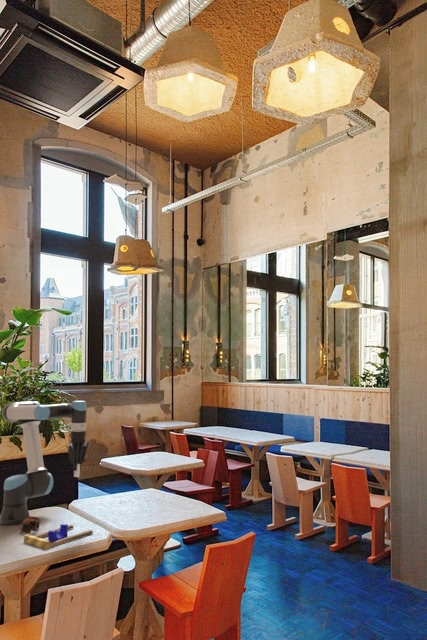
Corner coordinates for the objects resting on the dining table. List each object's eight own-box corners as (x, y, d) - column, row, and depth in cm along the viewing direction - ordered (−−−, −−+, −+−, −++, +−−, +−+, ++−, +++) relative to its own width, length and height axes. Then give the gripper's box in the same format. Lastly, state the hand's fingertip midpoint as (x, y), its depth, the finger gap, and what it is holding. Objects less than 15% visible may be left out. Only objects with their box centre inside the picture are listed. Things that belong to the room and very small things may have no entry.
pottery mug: (14, 533, 254) (19, 516, 259) (30, 538, 260) (34, 521, 265) (29, 531, 248) (34, 513, 253) (45, 535, 254) (49, 518, 259)
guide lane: (23, 541, 240) (24, 535, 240) (70, 527, 262) (70, 521, 262) (45, 549, 230) (46, 542, 230) (92, 533, 252) (92, 527, 252)
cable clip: (59, 536, 248) (59, 523, 249) (67, 537, 247) (67, 524, 248) (45, 544, 237) (45, 531, 238) (53, 545, 236) (54, 531, 236)
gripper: (72, 432, 259) (70, 479, 257) (92, 430, 270) (91, 475, 268) (63, 431, 264) (61, 477, 262) (83, 428, 274) (82, 473, 272)
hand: (76, 476), depth 265 cm, fingers closed
